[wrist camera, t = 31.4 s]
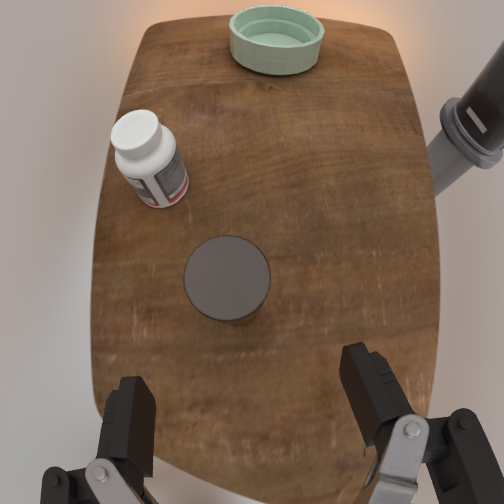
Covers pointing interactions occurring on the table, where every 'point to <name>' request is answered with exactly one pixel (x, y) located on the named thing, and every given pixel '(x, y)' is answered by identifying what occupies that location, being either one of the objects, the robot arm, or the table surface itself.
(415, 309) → the table surface
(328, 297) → the table surface
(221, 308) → the dark cylinder
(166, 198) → the pill bottle
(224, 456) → the table surface
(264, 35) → the bowl
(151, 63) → the table surface
